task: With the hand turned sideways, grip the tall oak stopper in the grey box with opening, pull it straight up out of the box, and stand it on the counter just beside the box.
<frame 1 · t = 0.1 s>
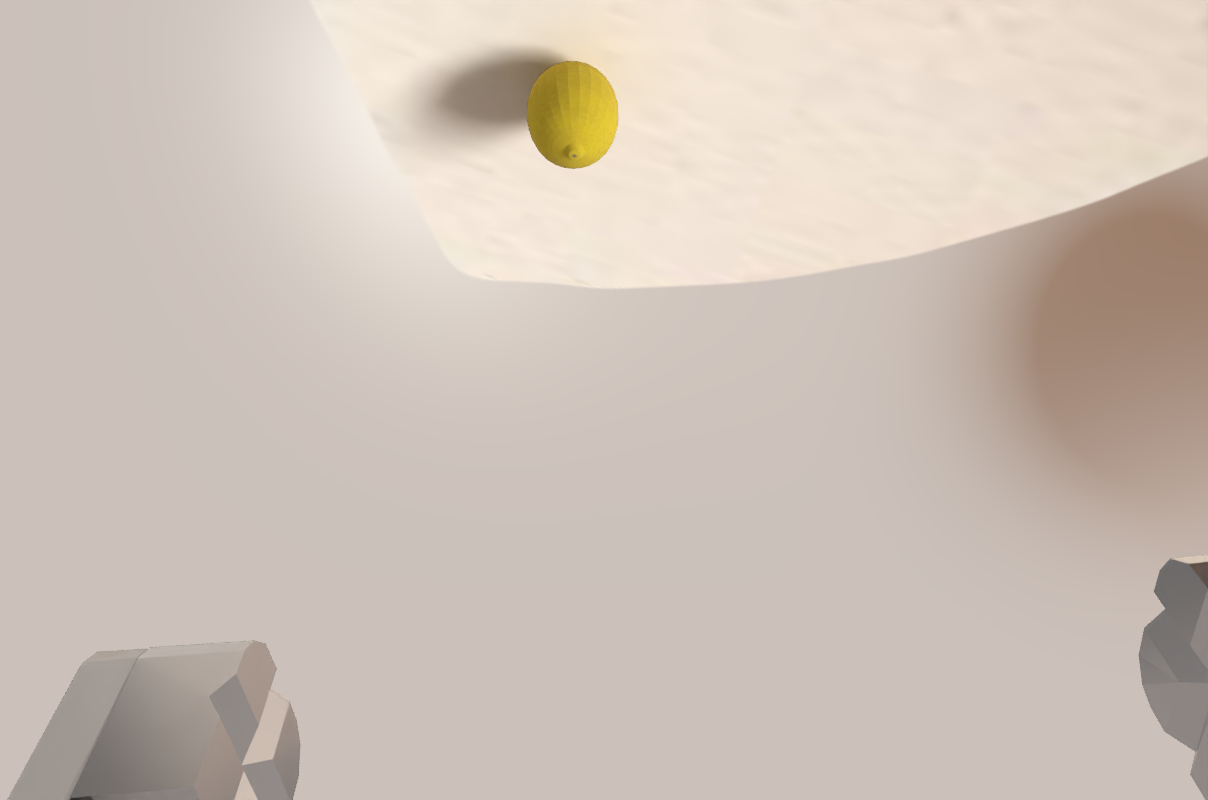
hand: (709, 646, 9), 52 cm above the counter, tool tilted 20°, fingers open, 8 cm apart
lemon: (570, 74, 64), on the counter
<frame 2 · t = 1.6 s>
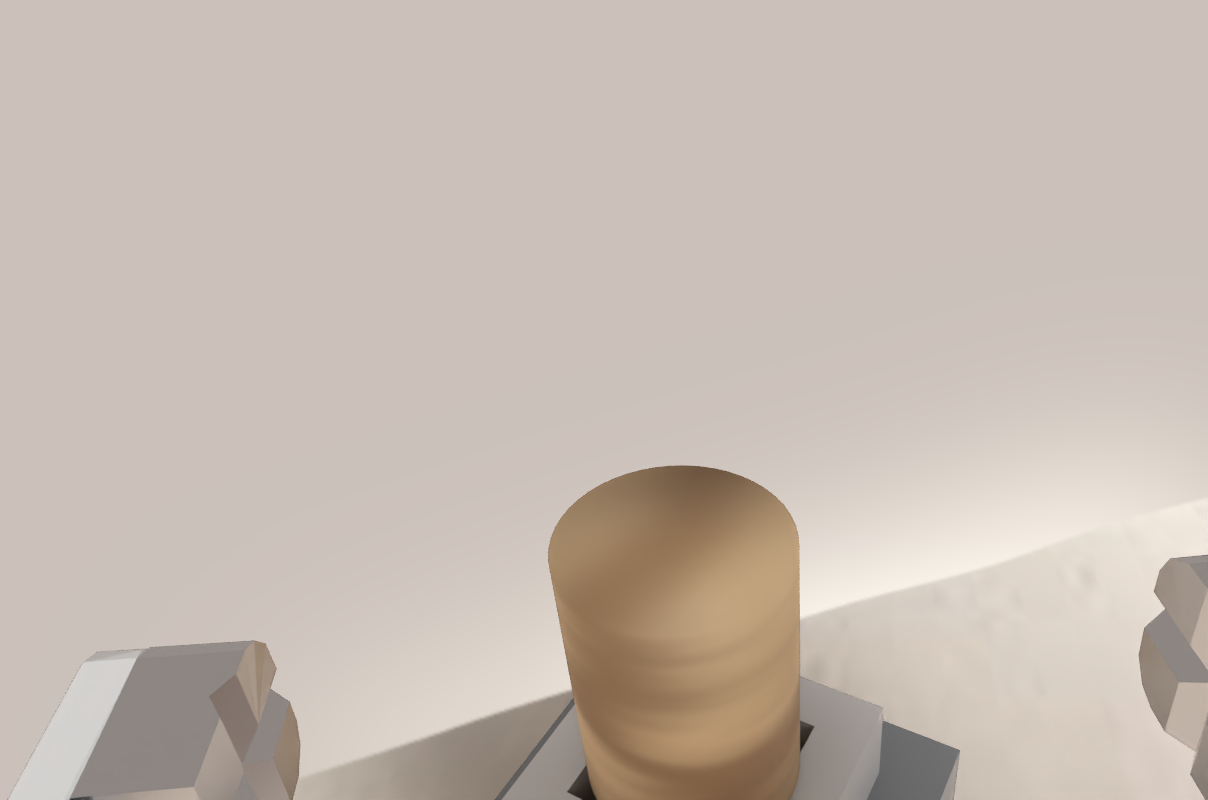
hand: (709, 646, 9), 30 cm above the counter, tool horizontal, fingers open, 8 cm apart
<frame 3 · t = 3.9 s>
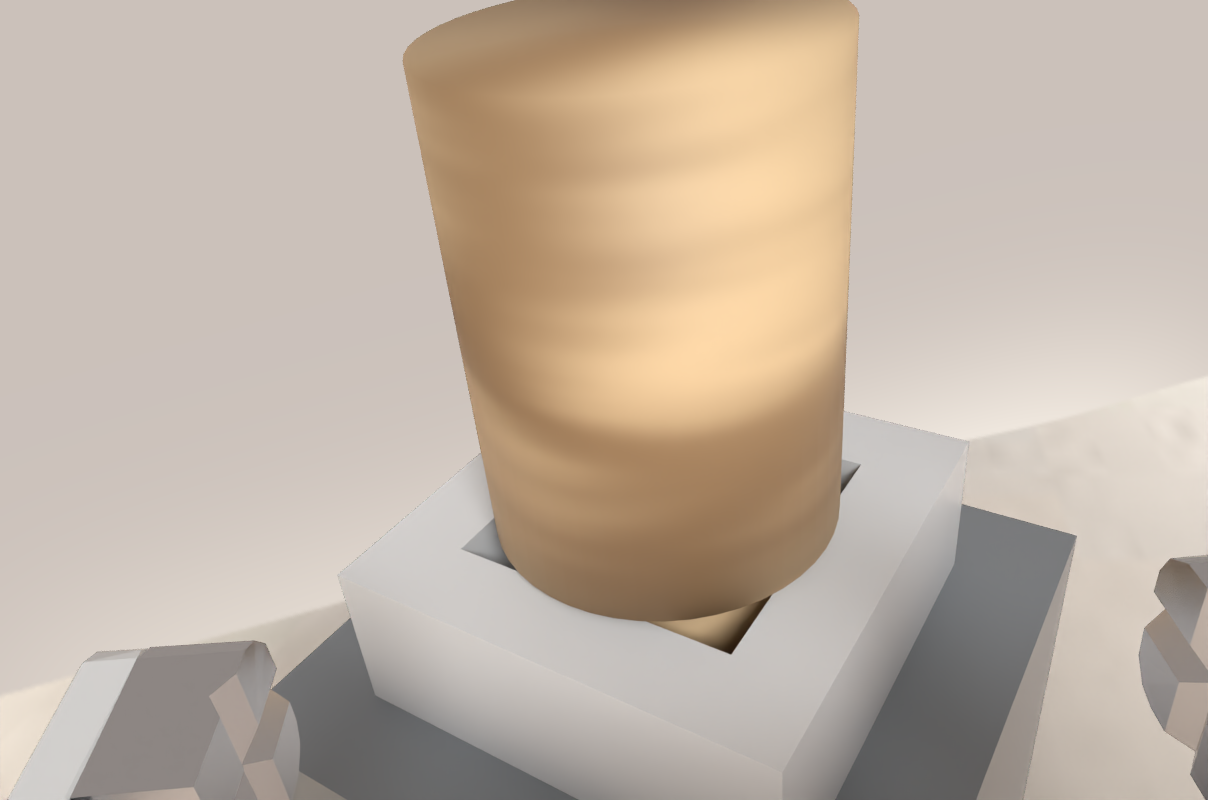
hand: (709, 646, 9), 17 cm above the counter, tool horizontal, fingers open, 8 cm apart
stopper: (675, 626, 20), point 10 cm above the counter, touching grey box with opening
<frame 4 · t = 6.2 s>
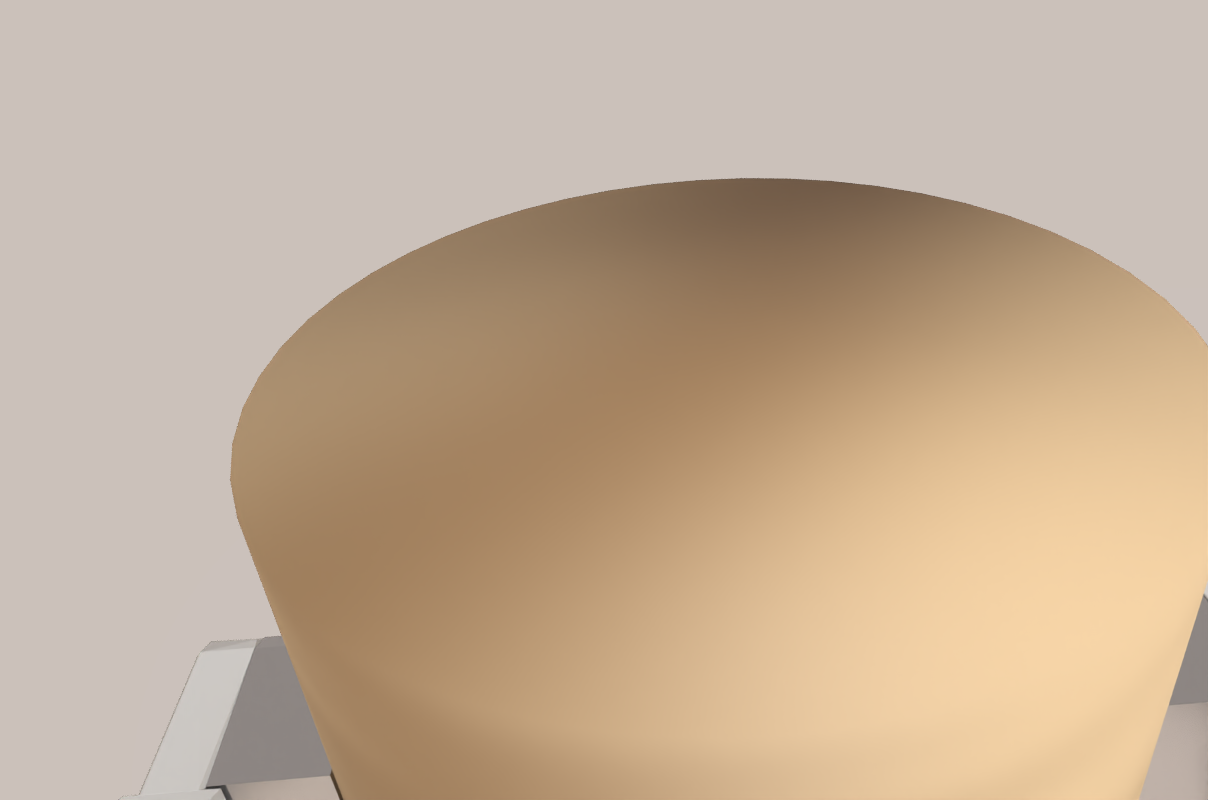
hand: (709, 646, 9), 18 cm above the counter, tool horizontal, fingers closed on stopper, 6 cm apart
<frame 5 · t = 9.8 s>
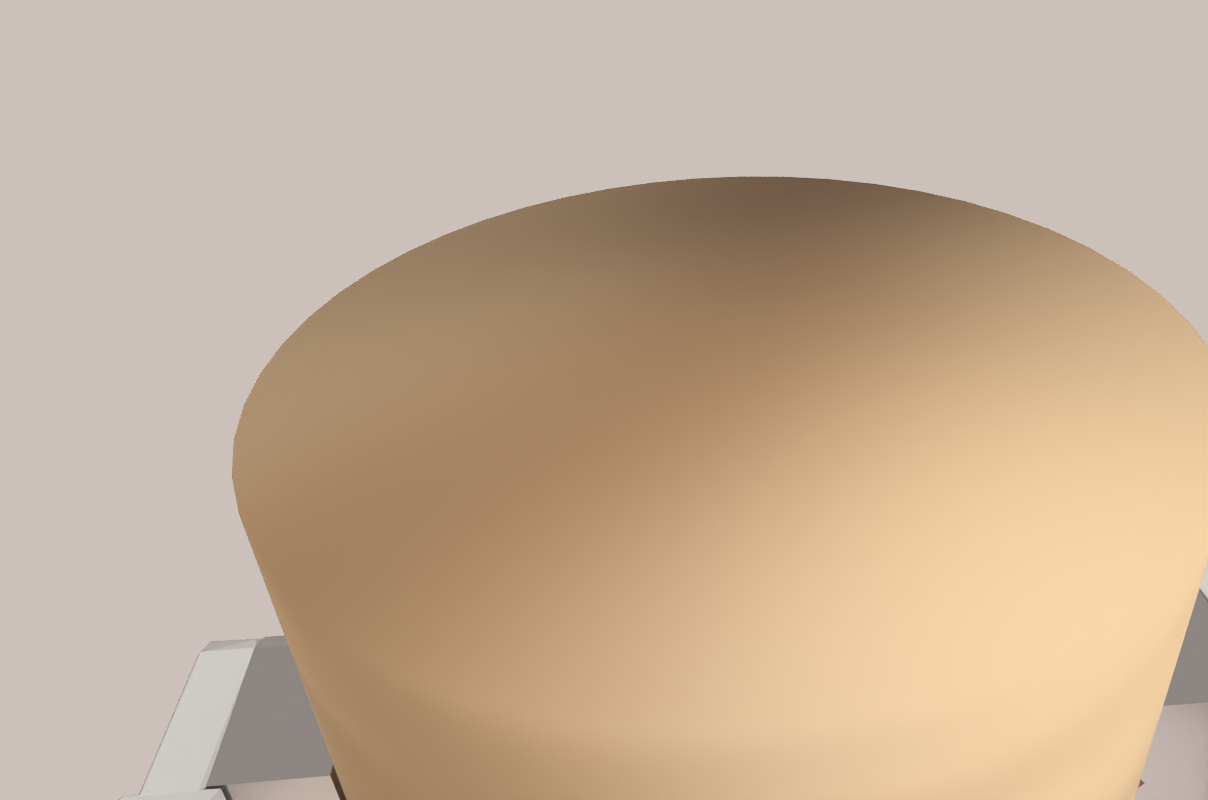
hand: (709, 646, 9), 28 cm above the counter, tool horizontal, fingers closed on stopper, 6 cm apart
when the fingers open (9 cm above the counter, at t = 13.5 s): stopper drops 2 cm, on the counter.
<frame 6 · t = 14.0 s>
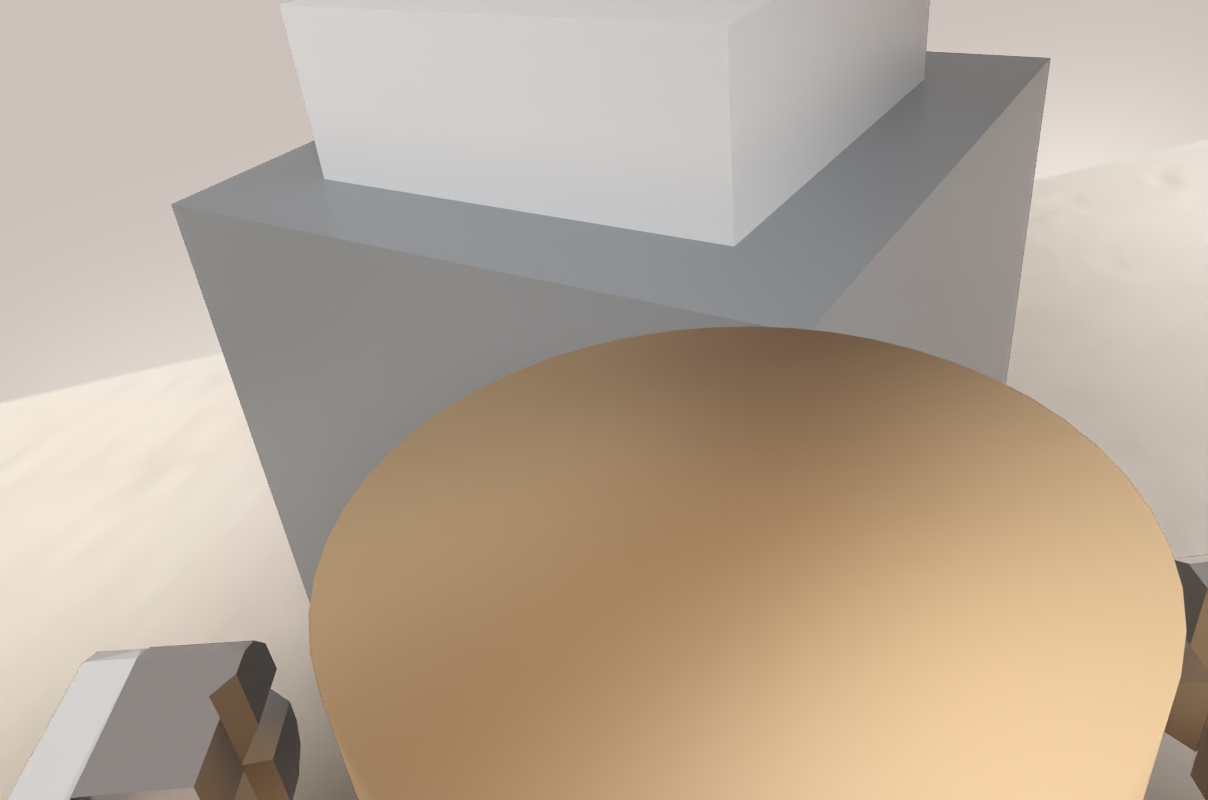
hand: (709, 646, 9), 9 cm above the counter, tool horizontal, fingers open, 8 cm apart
grey box with opening: (669, 534, 24), on the counter
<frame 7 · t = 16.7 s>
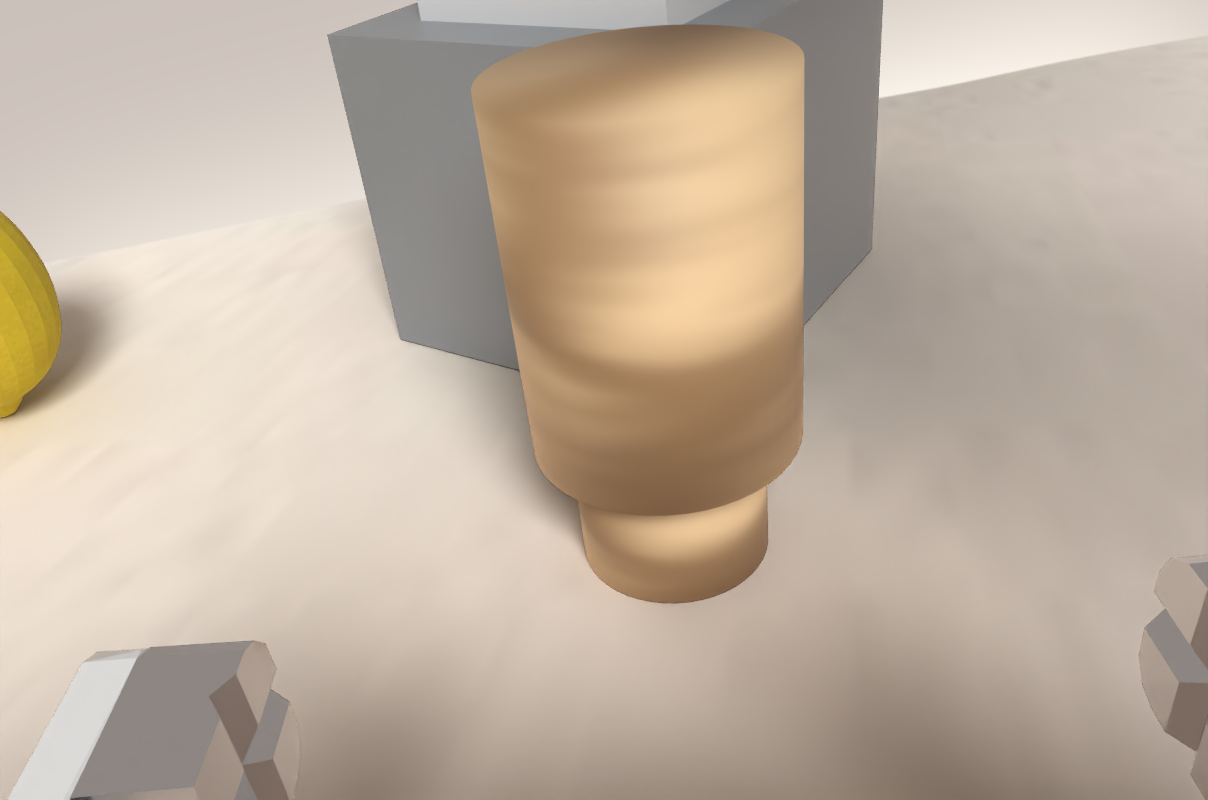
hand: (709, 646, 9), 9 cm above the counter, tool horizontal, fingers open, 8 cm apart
stopper: (675, 537, 24), on the counter
grey box with opening: (643, 292, 35), on the counter
lemon: (9, 419, 33), on the counter
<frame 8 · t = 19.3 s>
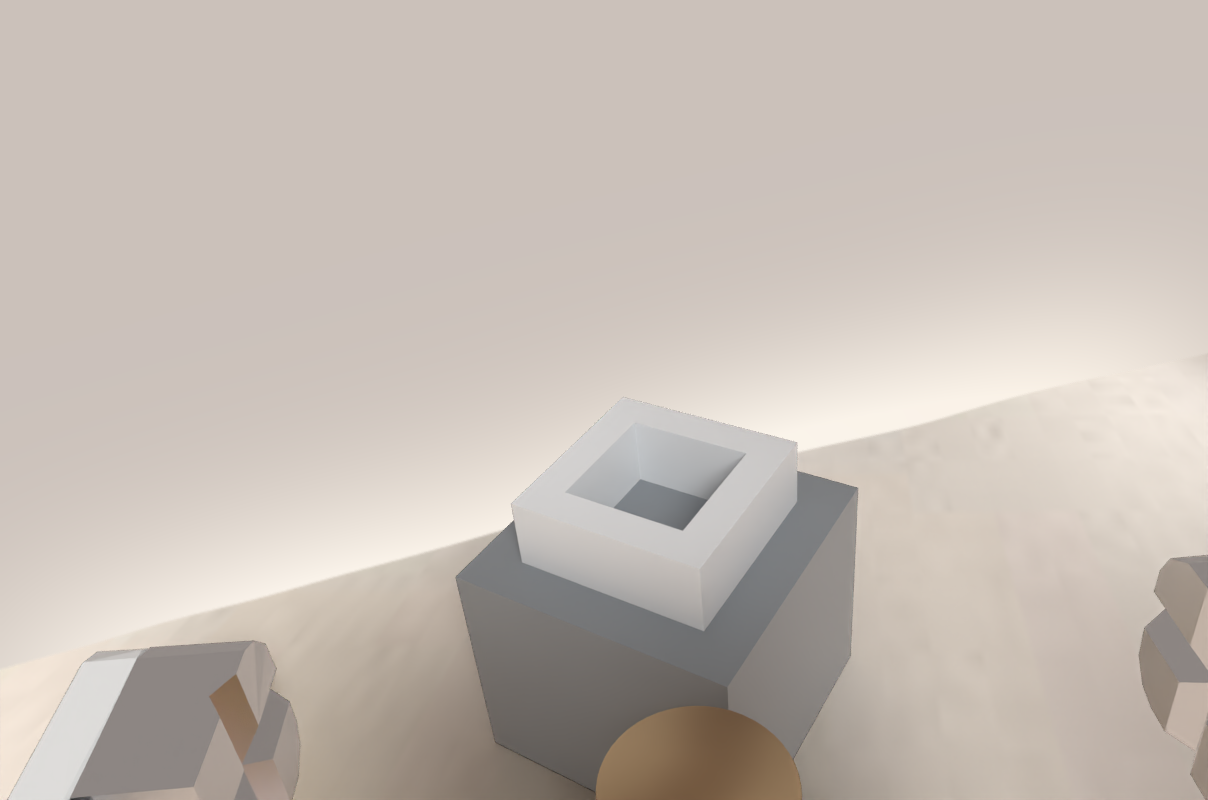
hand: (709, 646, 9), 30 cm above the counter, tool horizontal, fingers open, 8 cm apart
grey box with opening: (676, 697, 47), on the counter
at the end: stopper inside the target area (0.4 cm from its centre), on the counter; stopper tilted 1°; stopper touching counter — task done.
